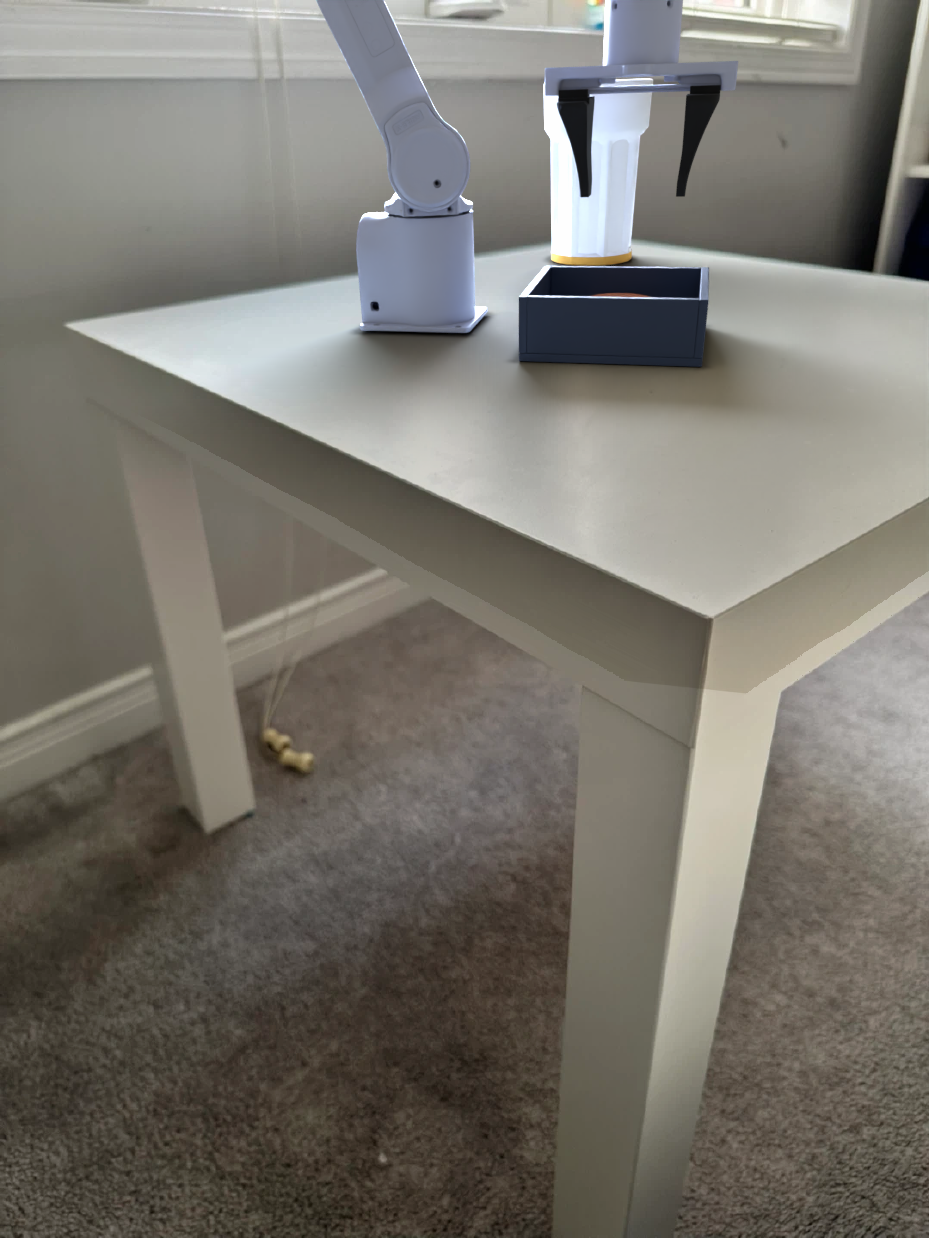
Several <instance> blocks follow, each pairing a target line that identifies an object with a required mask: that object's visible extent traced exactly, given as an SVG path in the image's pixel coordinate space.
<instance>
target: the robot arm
mask: <svg viewBox="0 0 929 1238" xmlns="http://www.w3.org/2000/svg"><path fill="white" fill-rule="evenodd" d="M315 2H316V4H317V6H318V8H319V10H320V12H321V14H322V17H323V18H324V20H325V22H326V24H327V26H328V27H329V31H330V32H331V34H332V37H333V39H334V40H335V43H336V44H337V46H338V49H339V51H340V52H341V55H342V56H343V59H344V61H345V63H346V65H347V67H348V69H349V71H350V73H351V75H352V78H353V79H354V81H355V83H356V86H357V88H358V89H359V91H360V93H361V95H362V98H363V99H364V102H365V104H366V106H367V108H368V111H369V113H370V115H371V117H372V119H373V122H374V124H375V127H376V128H377V130H378V133H379V134H380V136H381V138H382V141H383V143H384V147H385V151H386V171H387V177H388V179H389V183H390V186H391V187H392V189H393V191H394V194H393V195H392V197H391V198H390V199H389V200H386V201H385V202H384V206H383V207H384V209H383V210H384V211H381V212H378V211H376V212H367V213H364V214H362V216H361V218H360V220H359V222H358V225H357V231H356V241H355V242H356V243H355V246H356V247H355V249H356V250H355V253H356V265H357V266H356V267H357V275H358V288H359V301H360V310H361V312H360V313H361V323H360V324H359V330H361V331H366V332H367V331H368V332H370V331H371V332H410V333H443V334H445V333H446V334H447V333H448V334H467V333H470V332H471V331H472V330H473V329H474V328H475V327H476V325H478V324H479V322H480V321H481V320H482V319H483V318H484V317H485V316H486V314H487V313H488V312H489V311H488V307H487V306H476V278H475V238H474V237H475V235H474V234H475V233H474V231H475V230H474V210H473V209H474V203H473V201H471V200H468V199H465V198H464V197H463V196H462V194H463V193H464V191H465V189H466V188H467V185H468V183H469V179H470V175H471V157H470V153H469V149H468V146H467V144H466V141H465V140H464V138H463V137H462V135H461V134H460V132H458V130H457V129H456V128H455V127H453V126H452V125H450V124H449V123H448V122H447V121H446V120H444V119H443V118H442V116H441V115H440V114H439V112H438V111H437V109H436V107H435V106H434V104H433V100H432V99H431V97H430V94H429V93H428V90H427V89H426V86H425V85H424V83H423V80H422V78H421V77H420V75H419V72H418V70H417V68H416V67H415V64H414V62H413V60H412V58H411V56H410V53H409V51H408V48H407V47H406V44H405V42H404V40H403V38H402V36H401V34H400V32H399V29H398V27H397V25H396V23H395V19H394V18H393V16H392V14H391V12H390V10H389V7H388V6H387V3H386V1H385V0H315ZM604 5H605V7H604V31H603V34H604V35H603V53H602V54H603V57H602V65H588V66H587V65H585V66H582V65H581V66H557V67H555V66H554V67H545V68H544V83H545V96H558V95H559V98H558V102H557V108H558V112H559V115H560V117H561V119H562V122H563V124H564V127H565V129H566V132H567V135H568V138H569V141H570V144H571V147H572V151H573V155H574V158H575V163H576V167H577V172H578V179H579V186H580V197H589V196H590V195H591V190H592V160H591V145H592V129H593V115H594V102H595V96H590V94H614V93H648V92H652V93H677V92H689V93H687V94H686V96H685V108H684V119H683V120H684V122H683V135H682V145H681V147H682V148H681V155H680V162H679V167H678V175H677V179H676V180H677V181H676V190H675V197H677V198H679V197H680V198H683V197H686V193H687V192H686V191H687V185H688V180H689V176H690V172H691V169H692V166H693V163H694V160H695V157H696V154H697V151H698V148H699V146H700V143H701V141H702V139H703V137H704V134H705V131H706V129H707V127H708V125H709V122H710V120H711V118H712V116H713V114H714V112H715V110H716V108H717V106H718V104H719V102H720V99H721V92H724V91H726V92H728V91H736V90H737V89H736V88H737V78H738V69H739V60H725V61H723V60H722V61H693V62H690V61H689V62H679V59H680V48H681V47H680V45H681V34H682V22H683V21H682V20H683V8H684V7H683V6H684V0H605V4H604ZM643 77H645V78H646V77H647V78H648V77H649V78H650V77H663V82H664V83H671V84H653V85H638V86H606V87H600V86H601V84H614V83H616V79H619V78H643ZM672 82H674V84H672ZM675 82H676V83H675Z"/></svg>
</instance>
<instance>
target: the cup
mask: <svg viewBox="0 0 929 1238" xmlns="http://www.w3.org/2000/svg"><path fill="white" fill-rule="evenodd" d="M638 85H654V79H653V78H621V79H620V78H616V83H614V84H601V86H600V87H606V86H638ZM590 96H595V102H594V115H593V129H592V145H591V160H592V190H591V195H590V196H589V197H580V186H579V179H578V172H577V167H576V163H575V158H574V155H573V151H572V147H571V144H570V141H569V138H568V135H567V132H566V129H565V127H564V124H563V122H562V119H561V117H560V115H559V112H558V108H557V102H558V98H559V95H558V96H545V82H544V83H543V122H544V127H543V128H544V131H545V133H546V135H547V136H548V137H549V139H550V141H549V142H550V147H549V148H550V149H549V150H550V224H551V225H550V227H551V228H550V229H551V230H550V231H551V232H550V233H551V250H550V259H551V261H552V262H554V263H557V264H561V265H566V266H610V265H611V266H612V265H618V264H622V263H627V262H629V261H630V260H631V259H632V256H633V249H632V247H631V246H632V235H633V225H634V224H633V223H634V212H635V203H636V202H635V201H636V189H637V177H638V166H639V155H640V144H641V136H642V135H643V134H645V132H646V130H647V129H648V128H649V127H650V118H651V109H652V97H653V92H648V93H614V94H590Z"/></svg>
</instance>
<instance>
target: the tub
mask: <svg viewBox="0 0 929 1238" xmlns="http://www.w3.org/2000/svg"><path fill="white" fill-rule="evenodd" d="M607 293H631V294H640V295H645V296H649V297H597V296H593V295H598V294H607ZM709 299H710V267H709V266H702V267H701V266H617V265H615V266H614V265H613V266H612V265H611V266H610V265H600V266H578V265H544V266H543V267H542V269H541V270H540V271H539V272H538V273H537V274H536V276H535V277H534V278H533V279H532V280H531V282H530V283H529V284H528V286H527V287H526V288H525V289H524V290H523V291H522V292H521V294H520V295H519V296H518V362H533V363H535V362H537V363H565V364H567V363H568V364H598V365H599V364H600V365H626V366H627V365H628V366H629V365H631V366H660V367H662V366H663V367H693V368H695V367H696V368H701V367H702V366H703V359H704V349H705V340H706V331H707V319H708V313H709V311H708V310H709V302H710V300H709Z"/></svg>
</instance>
